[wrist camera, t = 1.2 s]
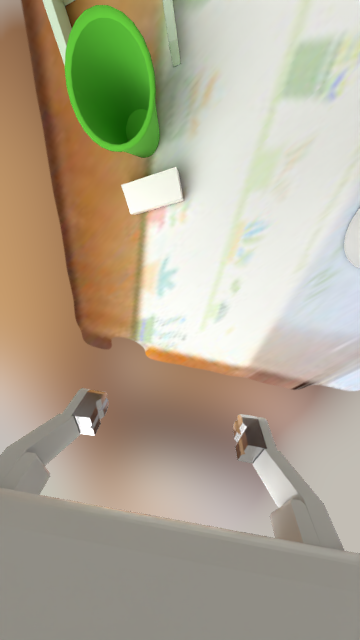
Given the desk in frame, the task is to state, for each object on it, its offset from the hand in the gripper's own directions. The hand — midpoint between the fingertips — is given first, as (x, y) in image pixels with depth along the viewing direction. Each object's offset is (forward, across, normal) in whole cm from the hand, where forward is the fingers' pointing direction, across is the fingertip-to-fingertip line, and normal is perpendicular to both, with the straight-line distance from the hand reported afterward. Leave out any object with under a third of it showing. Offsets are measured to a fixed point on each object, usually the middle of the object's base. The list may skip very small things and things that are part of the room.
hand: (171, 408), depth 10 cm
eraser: (+30, +8, -13) cm, 34 cm away
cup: (+30, +10, -20) cm, 38 cm away
